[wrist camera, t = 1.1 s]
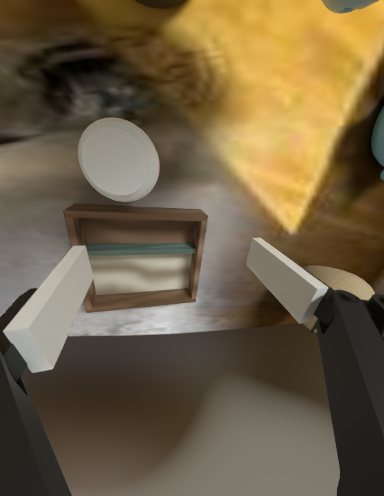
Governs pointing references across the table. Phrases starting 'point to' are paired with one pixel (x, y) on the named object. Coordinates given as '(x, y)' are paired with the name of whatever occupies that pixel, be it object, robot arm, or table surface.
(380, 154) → the teapot
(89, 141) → the pill bottle
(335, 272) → the vase
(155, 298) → the crate
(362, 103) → the table surface
